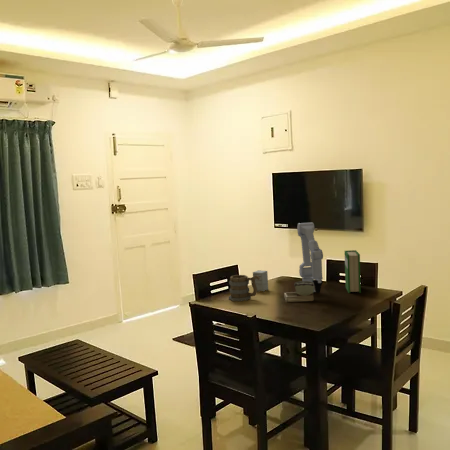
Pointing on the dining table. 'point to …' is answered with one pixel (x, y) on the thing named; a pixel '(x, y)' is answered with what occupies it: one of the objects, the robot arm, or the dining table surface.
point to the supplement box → (261, 280)
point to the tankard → (242, 287)
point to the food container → (304, 288)
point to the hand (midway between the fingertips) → (318, 292)
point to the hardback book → (352, 271)
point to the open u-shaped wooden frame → (296, 297)
